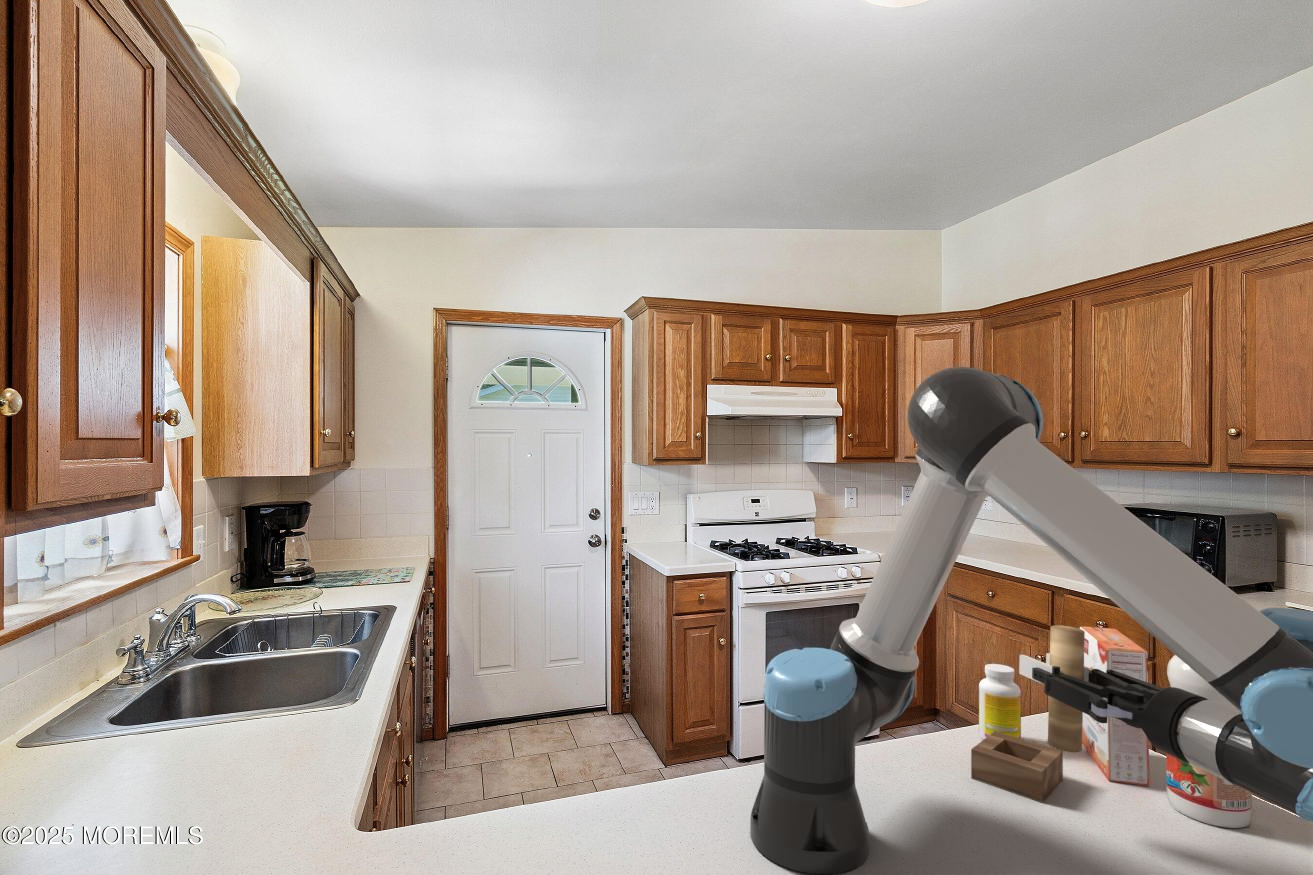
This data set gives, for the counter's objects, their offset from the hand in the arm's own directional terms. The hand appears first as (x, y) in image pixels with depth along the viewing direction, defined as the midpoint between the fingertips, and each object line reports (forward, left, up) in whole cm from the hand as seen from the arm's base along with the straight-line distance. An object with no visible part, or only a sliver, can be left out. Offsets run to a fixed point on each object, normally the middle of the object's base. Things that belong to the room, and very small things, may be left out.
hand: (1035, 663), depth 97 cm
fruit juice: (+16, -17, -21) cm, 32 cm away
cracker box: (+23, -4, -21) cm, 31 cm away
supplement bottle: (+19, +12, -21) cm, 30 cm away
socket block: (+6, +5, -20) cm, 22 cm away
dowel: (-3, -4, -10) cm, 11 cm away
